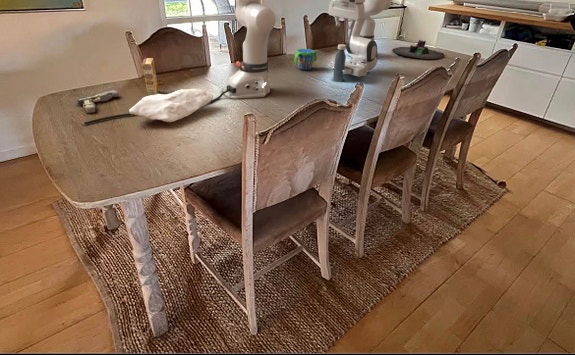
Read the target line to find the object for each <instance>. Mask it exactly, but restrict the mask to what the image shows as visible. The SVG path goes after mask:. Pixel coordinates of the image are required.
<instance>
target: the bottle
mask: <svg viewBox="0 0 575 355" xmlns="http://www.w3.org/2000/svg"><path fill="white" fill-rule="evenodd" d="M345 51H346V50H340V49H338V50H337V52H336V54H335V56H334V61H335V65H334V70H333V76H332V80H333V81H334V82H337V83H339V82H344V77H345V74H343V73H342V70H344V69H345V62H347V61H346V59H347V56H346V52H345Z"/></svg>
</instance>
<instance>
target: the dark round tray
mask: <svg viewBox="0 0 575 355" xmlns="http://www.w3.org/2000/svg"><path fill="white" fill-rule="evenodd" d="M426 43H427V41H426V40H422V39H419V40H418V41H417V43H416V44H415V45H412V44H411V45H410V46H399V47H395V48H392V49H391V51H392V52H393V53H395V54H397V55H401V56H403V57H407V58H415V59H421V60H437V59H442V58H444V56H445V54H444V53H443V52H440V51H436V50H435V49H434V50H433V49H429V47H428V46H426Z"/></svg>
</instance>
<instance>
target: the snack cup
mask: <svg viewBox="0 0 575 355" xmlns="http://www.w3.org/2000/svg"><path fill="white" fill-rule="evenodd" d="M317 56H318V55H317V52H316V50H314V49H310V48H298V49H296V53H295V55H294V58H293V64H294V65H297V66H298V69H299V70H301V71H309V70H312V67H313V63H314V62H316V61H317V58H318V57H317Z"/></svg>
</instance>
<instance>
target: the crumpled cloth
mask: <svg viewBox="0 0 575 355" xmlns="http://www.w3.org/2000/svg"><path fill="white" fill-rule="evenodd" d="M213 97H214V96H213V94H212V93H210V92H208V91H206V90H203V89H201V88H187V89H186V88H185V89H184V88H183V89H177V90H175V91H173V92H171V93H167V94H163V93H158V94H156V95H150V96H148V95H146V96H144V97H142V98H141V99H140V100H139V101H138V102H137V103H136V104H134V105H133V106H132V107H131V108H129V112H128V113H130V114H134V115H133V116H140V117H145V118H146V119H149V120H152V121H155V120H158V121H163V122H166V123H174V122H176V121H178V120H181V119H183V118H185V117H188V116H190V115H192V114H193V113H195V112H196V111H197V110H199V109H200V108H202V107H204V106H206V105H208V104H210V103H209V102H210V101H211V100H213V99H214V98H213ZM207 103H208V104H207Z"/></svg>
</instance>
